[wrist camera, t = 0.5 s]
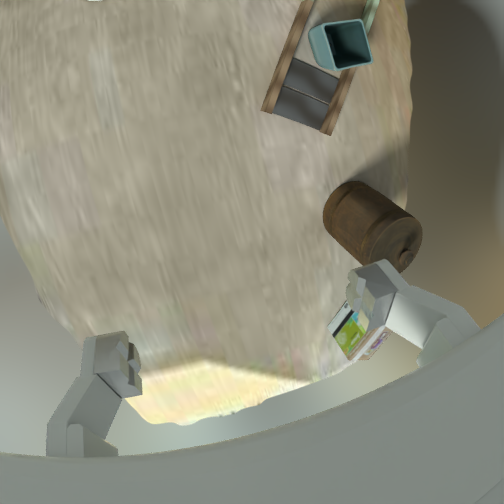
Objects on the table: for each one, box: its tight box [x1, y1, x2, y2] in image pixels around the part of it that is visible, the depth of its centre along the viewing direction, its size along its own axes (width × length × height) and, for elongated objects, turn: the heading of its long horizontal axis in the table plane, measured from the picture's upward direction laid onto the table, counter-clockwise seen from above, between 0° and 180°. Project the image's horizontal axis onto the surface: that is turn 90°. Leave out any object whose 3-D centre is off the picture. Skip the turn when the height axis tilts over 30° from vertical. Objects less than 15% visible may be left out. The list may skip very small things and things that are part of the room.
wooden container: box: [323, 181, 422, 274], centre depth 60 cm, size 15×15×22 cm
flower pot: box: [308, 19, 373, 71], centre depth 43 cm, size 9×9×9 cm
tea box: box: [328, 301, 393, 360], centre depth 84 cm, size 15×10×15 cm
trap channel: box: [261, 0, 380, 136], centre depth 44 cm, size 36×14×4 cm, turn 161°
